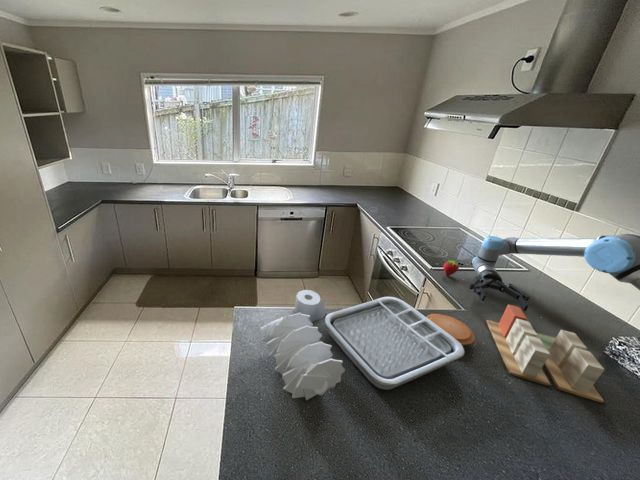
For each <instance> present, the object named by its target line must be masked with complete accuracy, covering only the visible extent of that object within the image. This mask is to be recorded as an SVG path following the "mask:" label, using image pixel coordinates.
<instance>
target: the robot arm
mask: <svg viewBox="0 0 640 480" xmlns="http://www.w3.org/2000/svg"><path fill="white" fill-rule="evenodd" d="M509 254H510V255H511V254H513V255H540V256H560V257H580V258H584V260H585V262H586V263H587V264H588V265H589V266H590V267H591V268H592V269H594V270H596V271H597V272H601V273H604V274H608V275H610V276H611V277H612V278H614V279H615V280H617V281H618V282H619V283H625V284H630V285H632V286H633V287H635V288H636V289H637V290H638V291H640V235H639V234H634V233H623V234H614V235H613V234H612V235H611V234H610V235H599V236H597V237H534V238H533V237H513V236H511V237H506V238H505V237H504V238H501V237H499V236H495V235H487V236H485V237H484V238H483V241H482V242H481V245H480V248H479V250H478V253H477V256H474V257H473V259H472V261H471V264H472V268H473V269H474V271H475V273H476V275H475V276H474V278H473V280H472V281H471V282H470V284H469V287H468V289H469V290H473V293H475V294H476V295H478V297H479V299H480V301H481V302H485V300H486V297H487V295H486V293H485V291H484V289H492V290H496V291H498V292H500V293H501V294H503V293H504V294H506V295H507V296H509V297H510V298H513V299H515V300H516V302H517V304H518V305H519V307H520V309H521V310H522V312H527V310H528V308H529V305H528V302H529V300H530V297H531V296H529V295H527V294H526V293H524V292H523V291H522V290H520V289H519V288H517V287H515V286H514V284H513V283H508V284H506V283H505V282H503V279H502V277H501V275H500V274H499V272H498V270H497V269H496V268H495V266H496V264H497V262H498V260H499V257H500V256H503V255H504V256H505V255H509Z"/></svg>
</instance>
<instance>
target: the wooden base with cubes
mask: <svg viewBox="0 0 640 480" xmlns="http://www.w3.org/2000/svg"><path fill="white" fill-rule="evenodd" d="M485 323H486V325H487V327H488V329H489V331H490V333H491V336H492V338H493V340H494V343H495V346H496V348H497V349H498V352H499V354H500V356H501V358H502V361H503V363H504V365H505V367H506V369H507V372H508V375H512V376H515V377H517V378H521V379H524V380H528V381H530V382H533V383H537V384H540V385H544V386H546V387H550V386H551V385H552V384H551V383H550V381H549V379H548V377H547V375H546V374H545V372H544V370H543V367H544V363H545V362H546V360H547V358H548V357H549V355H550V354H549V352H548V351H547V349H546V347H545V346H544V344H543V343H542V341H541V340H540V338H536V337H537V333H538V332H536V330H535V329H534V327H533V325H532V324H531V322H530V321H528V320H526V321H525V320H521V319H516V320H515V322H514V324H513V326H512V328H511V330H510V332H509V334H508V336H507V337H504V335H503V333H502V331H501V329H500V327H499V325H498V324H499V322H497V321H494V320H490V319H486V321H485Z"/></svg>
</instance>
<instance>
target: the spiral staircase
mask: <svg viewBox="0 0 640 480" xmlns="http://www.w3.org/2000/svg"><path fill="white" fill-rule="evenodd" d="M309 317H310V315H305V314H301V313H300V312H299V313H296V314H295V313H293V314H290V315H288V314H287V315H285V316H284V317H282V316H280V317H279V318H277V319H275V320H272V321H271V322H269V323H266V324H265V325H263V326H261V327H260V331H261V334H262V338H261V341H262V342H264V343H265V344H266V345H267V348H268V349H269V354H268V356H269V357H271V358H272V359H275V364H276V366H275V367H274V370H275V371H277V372H278V373H280V375H282V376H281V379H282V380H283V382H284V385H285V386H283V387H282V388H283V390H284V391H286V392H288V393H290V394H292V395H291V398H292V399H297V398H305V401H308V400H309V399H311V398H314V397H315V396H317V395H319V396H323V395H324V394H325V392H327V390H328V389H329V388H335V387H336V385H337V384H339V383H341V381H342V374H343V373H345V371H346V369H345V368H344V367H343V365H342V364H343V363H344V362H343V360H341V359H333V358H332V357H333V356H334V354H333V353H332V351H331V348H332V345H331V344H327V343H325V342H324V341H321V340H320V339H322V337H323V334H322V333H321V332H320V331H319V327H318V326H314V323H313V322H311V321H310V320H309Z"/></svg>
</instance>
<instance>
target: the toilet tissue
mask: <svg viewBox="0 0 640 480" xmlns="http://www.w3.org/2000/svg"><path fill="white" fill-rule="evenodd" d="M321 300H322V298H321V297H320V294H319V293H317V292H316V291H314V290H310V289H303V290H299V291H298V292H297V293H296V295H295V304H294V306H295V307H294V313H293V314H296V313H299V312H300V313H301V314H305V315H310V317H309V320H310V321H311V322H312V323H313V322H316V321H319V320H322V319H323V318H324V317H326V300H322V301H321Z"/></svg>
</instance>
